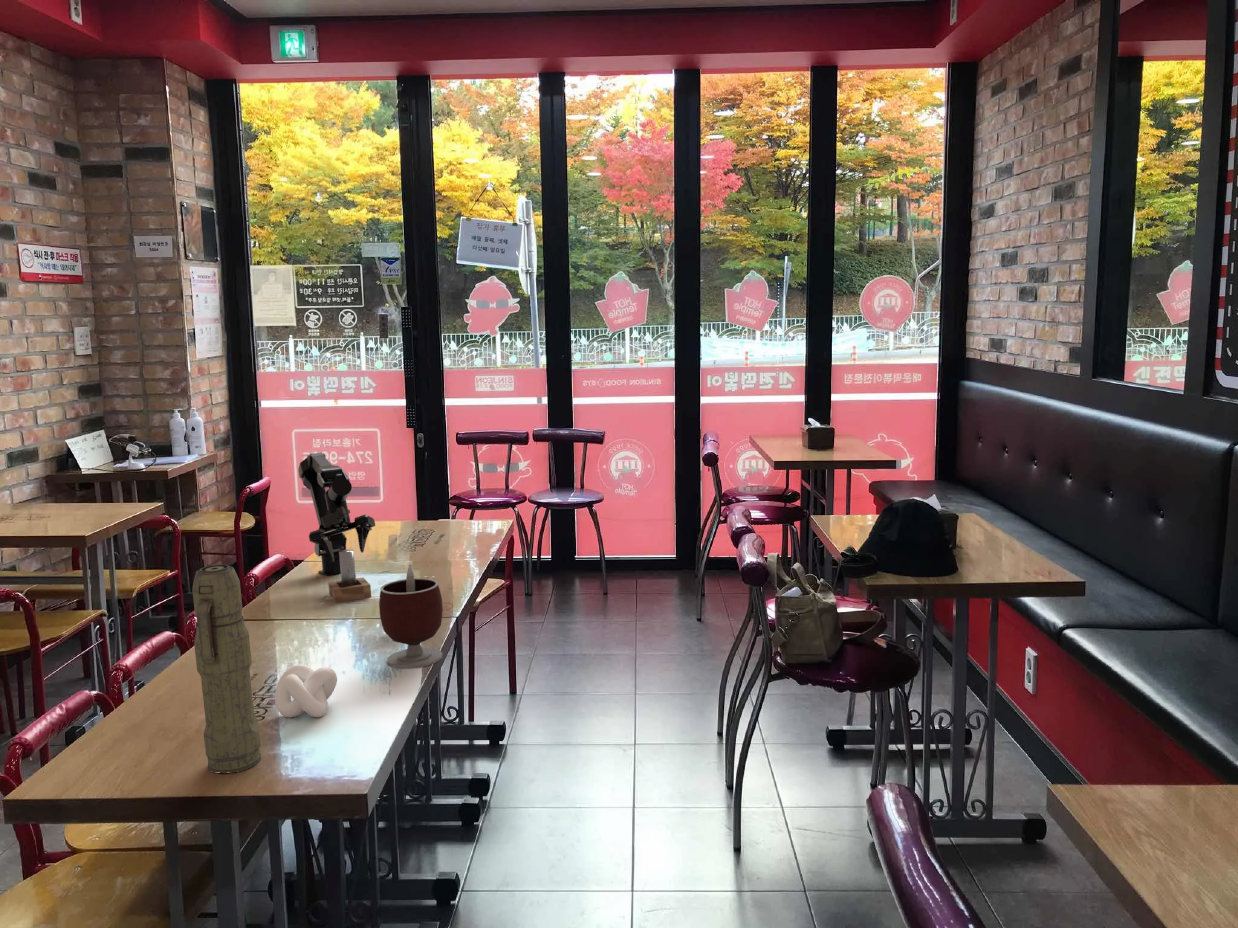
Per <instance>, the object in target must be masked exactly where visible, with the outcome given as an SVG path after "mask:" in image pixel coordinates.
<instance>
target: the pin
mask: <svg viewBox="0 0 1238 928" xmlns="http://www.w3.org/2000/svg"><path fill="white" fill-rule="evenodd" d="M354 552H355V551H354V549H346V550H342V551H339V558H340V569H341V573H340V581H342V587H348V586H354V585H356V578H357V574H356V573H357V572H356V565H355V564H356V563H355V561H356V560H355V553H354Z"/></svg>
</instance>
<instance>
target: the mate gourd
mask: <svg viewBox="0 0 1238 928" xmlns="http://www.w3.org/2000/svg"><path fill="white" fill-rule="evenodd" d="M440 589H441V588H440V587H439V582H438V581H437V580H435V579H432V578H420V577H419V578H415V575H414V570H413V565H412V564H411V563H410V564H408V568H407V573H406V579H398V580H395V581H391V582H388V583H385V584H384V585H381V586H380V593H379V601H378V606H379V607H378V608H379V618H380V622H381V626H382V629H383V632H384V633H385V634H386V635H387V636H388V637H389V638H390V639H391V641H393V642H394V643H395V642H396V643H399V644H403V645H407V648H405V649H401V650H398V651H395V652H392V653H391V654H390V655H389V656H388V657H387V659H386V660H387V661H386V662H387V665H389V666H391V667H393V668H397V669H417V668H423V667H427V666H431V665H434V664H435V663H438V662H439V661H441V659H442V658H443V652H442V650H440V649H439V648H435V647H425V646H424V647H423V646H421V643H423V642H426V641H427V640H429V639H431V638H433V637H434V636H436V634H437V633H438V631H439V629H440V628H441V625H442V621H443V611H444V610H443V609H444V608H443V597H442V593H441V590H440Z"/></svg>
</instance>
